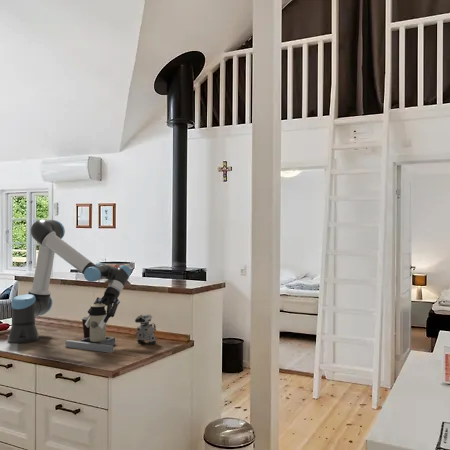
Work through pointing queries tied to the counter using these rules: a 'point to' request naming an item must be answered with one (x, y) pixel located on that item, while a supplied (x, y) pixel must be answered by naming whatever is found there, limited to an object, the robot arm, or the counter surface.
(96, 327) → the travel mug
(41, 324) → the counter surface
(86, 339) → the grey square frame
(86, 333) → the coffee mug
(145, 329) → the figurine
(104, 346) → the rail
